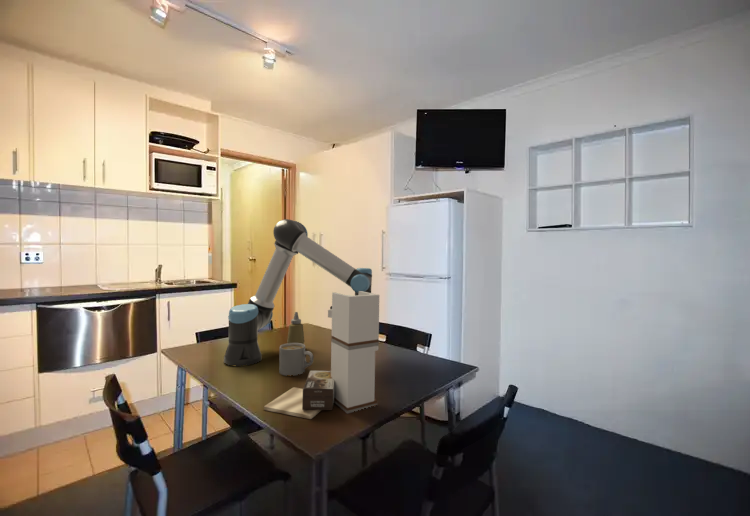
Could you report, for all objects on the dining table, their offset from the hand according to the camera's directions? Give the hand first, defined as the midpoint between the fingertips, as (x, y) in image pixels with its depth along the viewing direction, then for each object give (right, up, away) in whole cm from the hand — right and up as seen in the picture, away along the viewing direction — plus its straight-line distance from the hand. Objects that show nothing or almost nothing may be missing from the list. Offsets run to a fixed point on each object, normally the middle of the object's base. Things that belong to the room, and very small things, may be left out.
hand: (329, 313), depth 129 cm
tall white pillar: (+10, -26, -18) cm, 33 cm away
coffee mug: (-15, -24, +9) cm, 30 cm away
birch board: (-6, -25, -19) cm, 32 cm away
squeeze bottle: (-22, -24, +40) cm, 52 cm away
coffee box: (-1, -21, -10) cm, 23 cm away
